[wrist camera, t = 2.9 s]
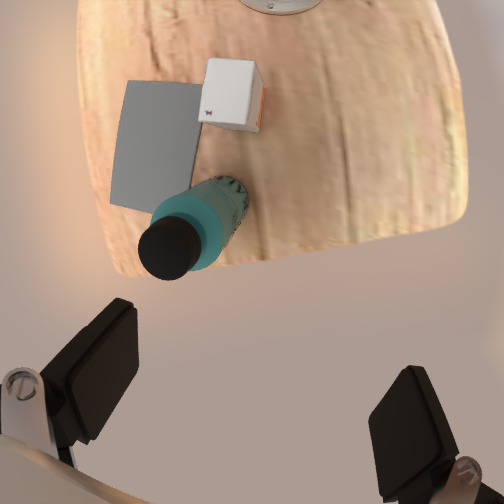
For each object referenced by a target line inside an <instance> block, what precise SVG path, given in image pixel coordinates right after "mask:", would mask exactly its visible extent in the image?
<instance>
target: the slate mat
mask: <svg viewBox="0 0 504 504" xmlns="http://www.w3.org/2000/svg"><path fill="white" fill-rule="evenodd" d="M202 87H203V85H198V84H188V83H176V82H161V81H128V83H127V87H126V92H125V96H124V101H123V106H122V111H121V116H120V122H119V128H118V134H117V141H116V148H115V155H114V163H113V172H112V182H111V193H110V204H114V205H118V206H122V207H126V208H131V209H135V210H139V211H143V212H147V213H151V214H154V212H155V210H156V208H157V207H158V206H159V205H160V204H161V203H162V202H163V201H164V200H166V199H168V198H170V197H172V196H175V195H178V194H180V193H182V192H184V191H186V190H188V189H190V185H191V180H192V174H193V168H194V163H195V158H196V153H197V147H198V142H199V137H200V133H201V128H202V123H203V122H199V121H198V118H199V110H200V103H201V95H202Z"/></svg>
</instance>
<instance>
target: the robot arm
mask: <svg viewBox="0 0 504 504" xmlns="http://www.w3.org/2000/svg"><path fill="white" fill-rule="evenodd" d="M240 1H241V2H242V3H244V4H245V5H246V6H248V7H250V8H252V9H254V10H257V11H260V12H263V13H268V14H277V15H286V14H295V13H300V12H303V11H306V10H308V9H310V8H312V7H314V6H316V5H317V4H318V3H319V2H320V1H321V0H314V1H312V0H240ZM270 8H273V9H270ZM137 322H138V321H137V309H136V308H134V306H133V303H131V302H129V301H126V300H124V299H120V298H115V299H114V300H113V301H112V302H111V303H110V304H109V305H108V306H107V307H106V308H105V309H104V310H103V311H102V312H101V313H100V314H99V315H98V316H96V318H94V320H93V321H91V322H90V323H89V325H88V326H85V327H84V328H83V329H82V330H81V331H80V332H79V333H78V334H77V335H76V336H75V337H74V338H73V339H72V340H71V341H70V342H69V343H68V344H67V345H66V346H65V347H64V348H63V349H62V350H61V351H60V352H59V353H58V354H57V355H56V356H55V357H54V358H53V360H52V361H51V362H50V363H49V364H48V365H47V366H46V367H45V368H44V369H43V370H42V371H41V372H40V373H37V372H36V371H35V370H33V369H30V368H24V367H21V368H16V369H14V370H11V371H10V372H9V373H8V374H7V375H6V376H5V377H4V379H3V382H2V384H0V504H152V503H150V502H147V501H144V500H141V499H139V498H136V497H134V496H131V495H129V494H126V493H124V492H122V491H119V490H117V489H115V488H113V487H110V486H108V485H106V484H104V483H102V482H100V481H98V480H96V479H93V478H91V477H90V476H88V475H86V474H83V473H82V472H80V471H78V468H77V465H76V461H75V457H74V453H73V449H72V446H73V445H74V443H75V442H76V440H78V441H80V442H82V443H84V444H86V445H88V443H89V441H90V440H95V439H96V438H97V437H98V435H99V433H100V432H101V430H102V428H103V427H104V425H105V423H106V422H107V420H108V418H109V417H110V415H111V413H112V412H113V410H114V409H115V407H116V405H117V404H118V402H119V400H120V399H121V397H122V396H123V394H124V392H125V391H126V389H127V388H128V386H129V384H130V383H131V381H132V379H133V378H134V376H135V375H136V373H137V371H138V367H139V354H138V326H137V325H138V323H137ZM368 423H369V429H370V435H371V440H372V446H373V452H374V459H375V465H376V472H377V478H378V487H379V493H380V495H381V496H382V497H383V503H388V502H396V501H397V500H398V503H399V504H504V497H503V496H502V495H501V494H499V493H498V492H496V491H495V490H493V489H491V488H490V487H488V486H487V485H485V484H484V483H482V482H481V480H482V470H481V467H480V465H479V464H478V462H477V461H476V460H474V459H473V458H471V457H469V456H463V457H460V458H459V459H457V460H456V459H455V456H457V455H458V454H459V450H458V448H457V445H456V442H455V439H454V437H453V434H452V432H451V429H450V426H449V424H448V421H447V419H446V416H445V414H444V411H443V409H442V406H441V404H440V402H439V400H438V397H437V395H436V393H435V390H434V388H433V386H432V384H431V381H430V379H429V377H428V375H427V373H426V371H425V369H424V367H421V366H412V365H409V366H407V367H406V368H405V369H403V370H402V371H401V372H400V374H399V375H398V377H397V378H396V380H395V381H394V383H393V384H392V386H391V387H390V388H389V390H388V391H387V393H386V394H385V396H384V397H383V398H382V400H381V401H380V402H379V404H378V405H377V407H376V408H375V409H374V411H373V412H372V413H371V415H370V417H369V421H368Z"/></svg>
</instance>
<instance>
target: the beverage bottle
mask: <svg viewBox="0 0 504 504" xmlns="http://www.w3.org/2000/svg"><path fill="white" fill-rule="evenodd" d="M218 176H219V175H218ZM245 190H246V189H244V187H243V186H242V185H241V184H240V183H239V182H238V180H237V181H236V180H234V179H232V178H231V177H230V176H229V177H225V176H220V177H216V176H215V177H214V178H212V179H211V178H210V179H209V180H208V181H205V182H204V181H203V183H201V182H200V184H198V185H196V186H194V187H191V189H188V190H186V191H184V192H182V193H180V194H178V195H175V196H172V197H170V198H168V199H166V200H164V201H163V202H162V203H161V204H160V205H159V206H158V207H157V208H156V210H155V212H154V214H153V216H152V219H151V223H150V227H149V228H148V229H147V230H146V231H145V232H144V233H143V234H142V236H141V238H140V240H139V244H138V254H139V258H140V260H141V263H142V264H143V266H144V267H145V269H146V270H147V271H148V272H149V273H150V274H151V275H153V276H155V277H156V278H159V279H161V280H167V281H169V280H176V279H178V278H180V277H182V276H184V275H185V274H186V273H187V272H188V271H196V270H200V269H203V268H205V267H207V266H209V265H211V264H212V263H213V262H214V261H215V260H216V259H217V257H218V256H219V255H220V253H221V251H222V248H223V247H224V246H225V244H226V243H227V242H228V243H229V240H230V239H229V238H230V236H231V235H232V233H233V232H234V231H235V230H237V228H236V227H237V225H238V227H239V225H240V224H241V219H242V218H243V216H244V215H245V213H246V210H247V207H248V205H249V203H248V198H249V197H248V196H247V193H246V192H247V191H245ZM248 208H249V207H248ZM246 214H247V213H246ZM244 217H245V216H244ZM239 223H240V224H239ZM232 236H233V235H232ZM226 246H227V245H226ZM225 248H226V247H225ZM223 249H224V248H223Z"/></svg>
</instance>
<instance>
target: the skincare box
mask: <svg viewBox="0 0 504 504" xmlns="http://www.w3.org/2000/svg"><path fill="white" fill-rule="evenodd" d="M265 89H266V88H265V86H264V83H263V80H262V78H261V75H260V73H259V70H258V68H257V65H256V63H255V61H252V60H242V59H229V58H208V61H207V67H206V73H205V78H204V83H203V87H202V95H201V103H200V110H199V118H198V121H199V122H203V123H206V124H210V125H214V126H217V127H221V128H224V129H231V130H239V131H248V132H256V133H259V129H260V121H261V113H262V106H263V101H264V95H265Z"/></svg>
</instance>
